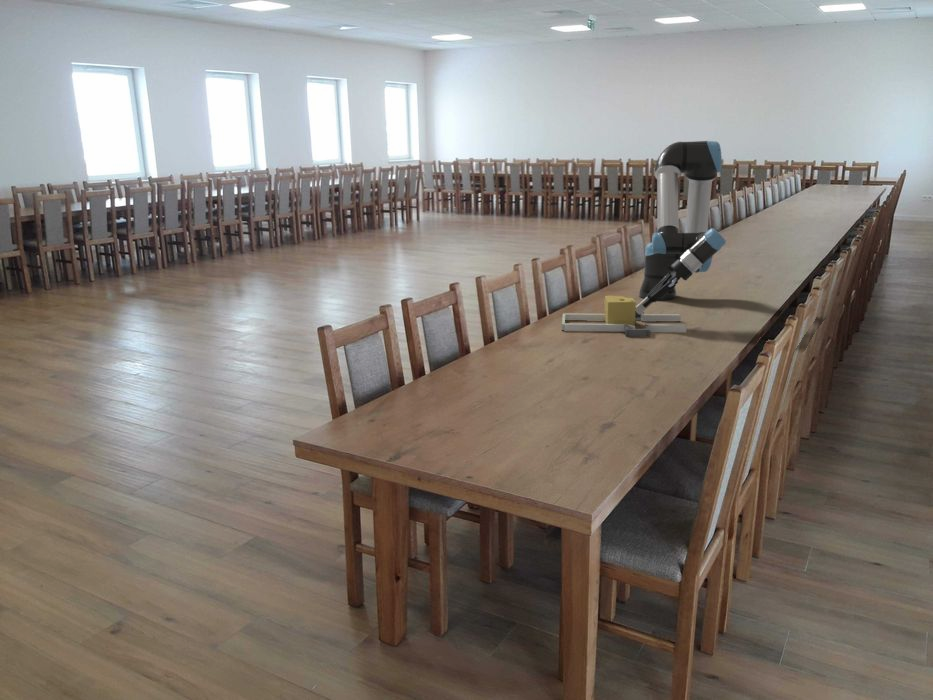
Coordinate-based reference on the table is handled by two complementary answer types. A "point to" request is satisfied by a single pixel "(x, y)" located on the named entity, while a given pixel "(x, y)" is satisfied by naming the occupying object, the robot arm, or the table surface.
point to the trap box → (626, 328)
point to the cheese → (619, 310)
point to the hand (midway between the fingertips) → (636, 311)
